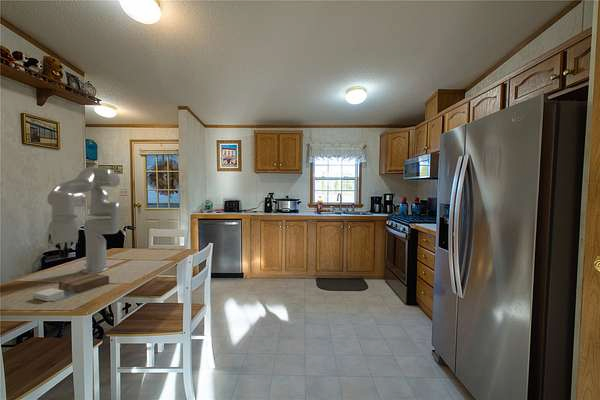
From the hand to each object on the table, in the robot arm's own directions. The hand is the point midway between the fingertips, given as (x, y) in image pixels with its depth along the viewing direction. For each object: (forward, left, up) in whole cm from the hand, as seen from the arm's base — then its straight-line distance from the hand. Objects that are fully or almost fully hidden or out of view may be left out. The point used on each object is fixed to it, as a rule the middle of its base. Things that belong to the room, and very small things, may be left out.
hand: (64, 257), depth 117 cm
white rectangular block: (+1, -6, -14) cm, 15 cm away
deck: (0, +8, -17) cm, 19 cm away
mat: (0, -3, -17) cm, 17 cm away
